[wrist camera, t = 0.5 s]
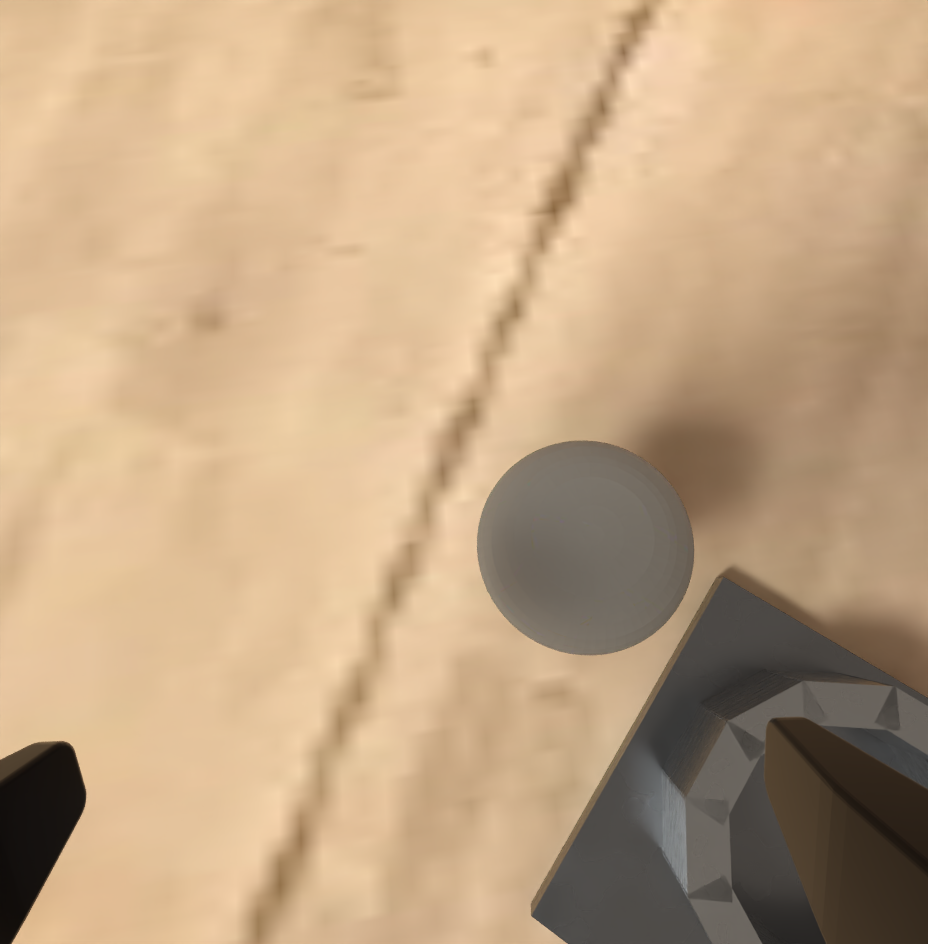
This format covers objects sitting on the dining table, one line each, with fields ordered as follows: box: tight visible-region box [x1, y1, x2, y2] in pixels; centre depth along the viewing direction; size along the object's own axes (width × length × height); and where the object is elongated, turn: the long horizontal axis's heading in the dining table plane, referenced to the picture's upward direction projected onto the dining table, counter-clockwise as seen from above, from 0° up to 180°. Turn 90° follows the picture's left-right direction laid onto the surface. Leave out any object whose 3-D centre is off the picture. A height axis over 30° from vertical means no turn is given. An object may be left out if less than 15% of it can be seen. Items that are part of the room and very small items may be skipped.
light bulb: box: [477, 441, 694, 655], centre depth 18 cm, size 6×5×10 cm
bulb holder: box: [531, 577, 928, 944], centre depth 18 cm, size 13×12×4 cm
